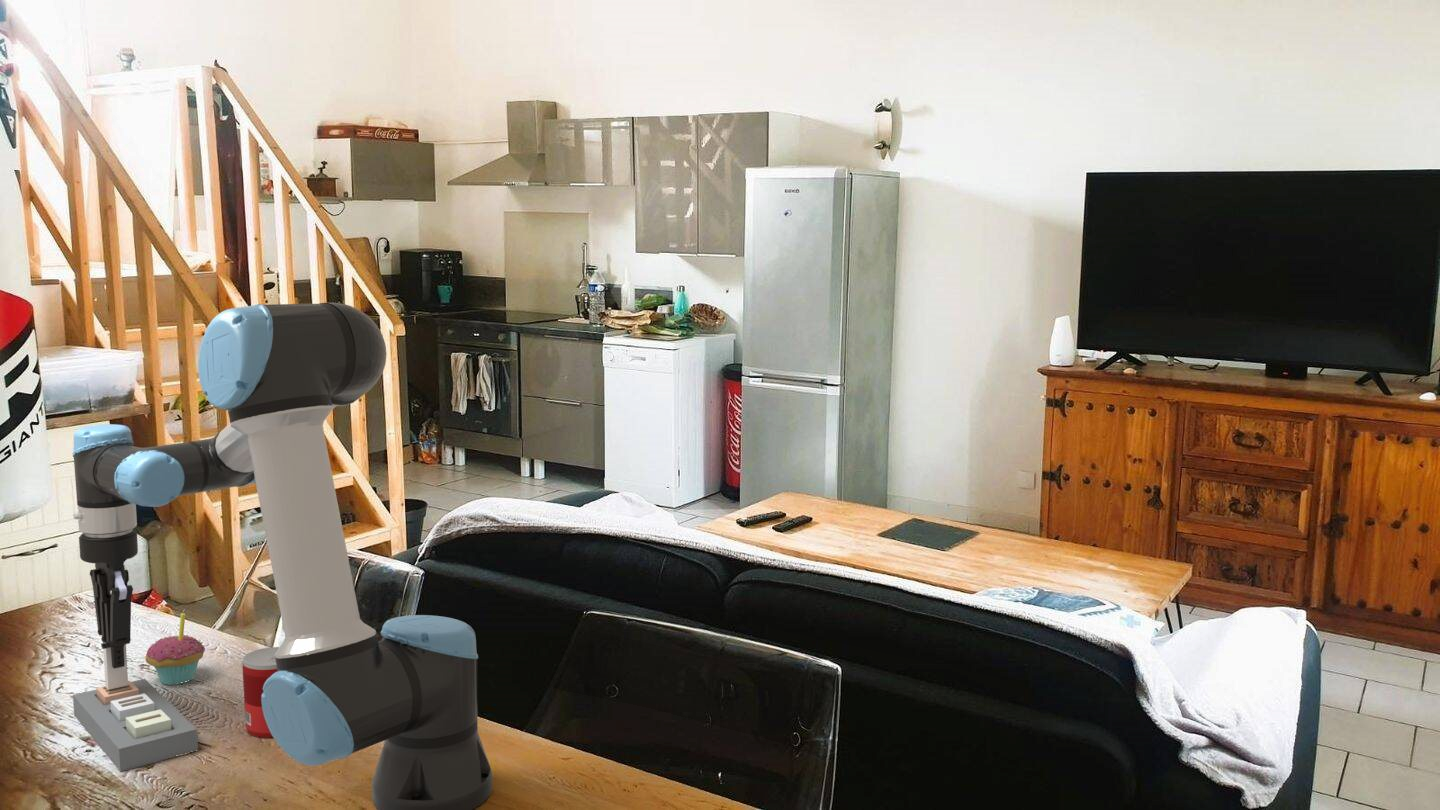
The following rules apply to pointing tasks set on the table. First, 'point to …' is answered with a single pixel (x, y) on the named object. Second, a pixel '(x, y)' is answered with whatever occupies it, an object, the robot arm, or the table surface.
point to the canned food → (257, 688)
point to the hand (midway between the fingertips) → (116, 685)
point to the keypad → (121, 743)
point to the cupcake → (175, 656)
